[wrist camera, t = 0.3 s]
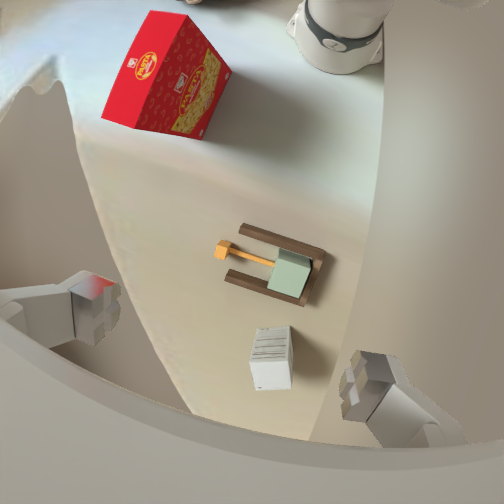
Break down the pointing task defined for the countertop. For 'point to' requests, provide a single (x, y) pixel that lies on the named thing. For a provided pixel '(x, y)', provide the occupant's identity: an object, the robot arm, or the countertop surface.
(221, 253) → the block
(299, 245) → the lane
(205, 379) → the countertop surface
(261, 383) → the supplement box
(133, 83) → the food packaging
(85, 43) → the countertop surface
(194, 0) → the cooking pot
